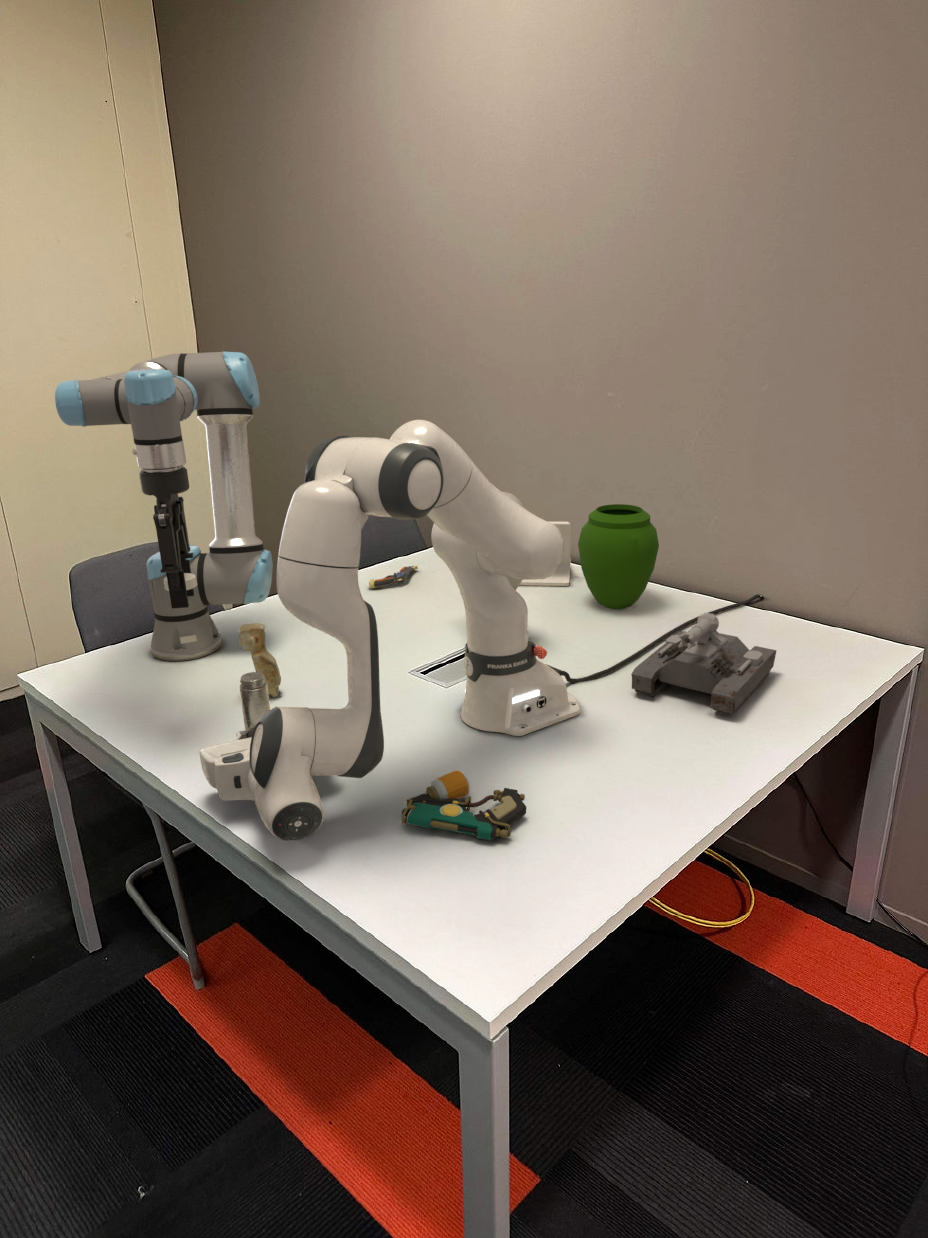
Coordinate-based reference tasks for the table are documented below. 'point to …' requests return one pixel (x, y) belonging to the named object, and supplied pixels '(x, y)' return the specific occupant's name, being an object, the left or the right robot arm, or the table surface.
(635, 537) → the vase
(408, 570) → the toy gun
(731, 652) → the toy
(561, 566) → the tablet stand
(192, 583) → the lid
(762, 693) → the table surface
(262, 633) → the sculpture
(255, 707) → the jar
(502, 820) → the spray gun
